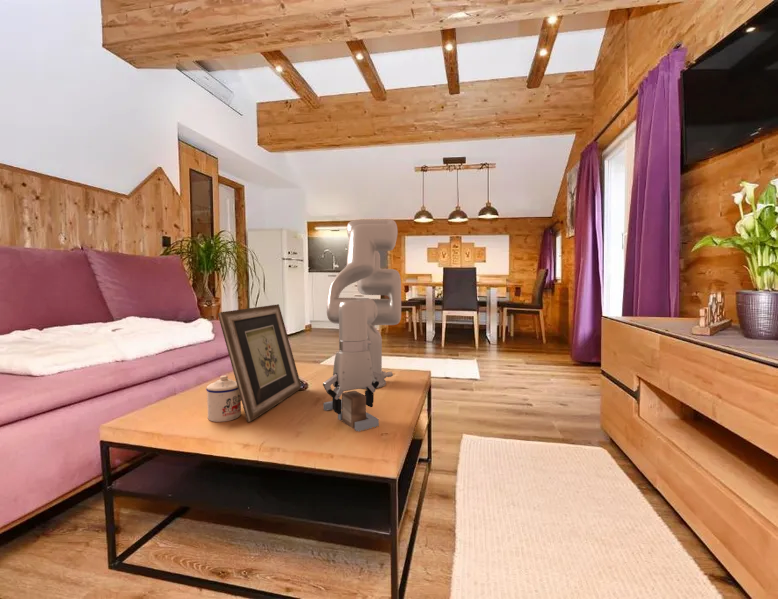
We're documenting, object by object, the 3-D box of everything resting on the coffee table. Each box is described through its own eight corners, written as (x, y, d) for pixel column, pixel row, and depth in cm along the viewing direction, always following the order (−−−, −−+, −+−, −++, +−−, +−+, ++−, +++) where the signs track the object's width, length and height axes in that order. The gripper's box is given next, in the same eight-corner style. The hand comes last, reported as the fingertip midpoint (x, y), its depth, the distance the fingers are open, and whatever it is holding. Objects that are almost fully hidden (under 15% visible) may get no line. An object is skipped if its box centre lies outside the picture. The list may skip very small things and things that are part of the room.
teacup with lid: (225, 424, 104) (224, 381, 104) (199, 420, 107) (198, 378, 107) (255, 410, 116) (254, 371, 115) (230, 406, 119) (230, 369, 118)
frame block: (354, 418, 109) (354, 390, 108) (366, 425, 104) (366, 395, 104) (341, 421, 107) (341, 393, 106) (352, 428, 102) (352, 398, 101)
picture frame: (251, 423, 105) (249, 312, 104) (218, 420, 107) (216, 311, 106) (301, 389, 137) (300, 304, 136) (275, 387, 139) (274, 304, 138)
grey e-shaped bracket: (342, 405, 120) (342, 399, 120) (378, 426, 103) (378, 418, 103) (323, 409, 116) (323, 402, 116) (357, 431, 100) (357, 424, 99)
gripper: (373, 341, 112) (373, 400, 113) (317, 347, 102) (317, 411, 103) (388, 345, 106) (387, 407, 107) (329, 351, 96) (330, 420, 97)
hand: (353, 409), depth 105 cm, fingers open, 9 cm apart
